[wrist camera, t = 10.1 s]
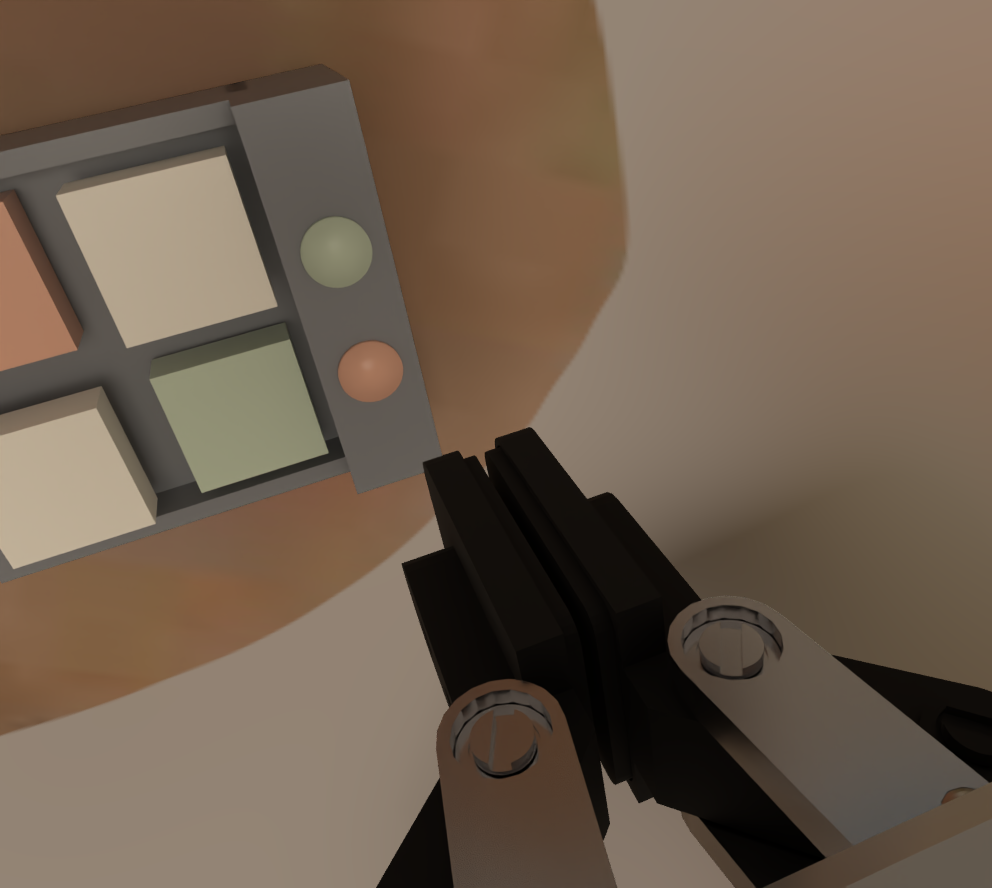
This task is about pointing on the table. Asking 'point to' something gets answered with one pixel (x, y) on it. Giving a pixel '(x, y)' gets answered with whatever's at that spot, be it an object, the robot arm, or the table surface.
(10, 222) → the key terracotta
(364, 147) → the keypad
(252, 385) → the key sage
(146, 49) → the table surface
